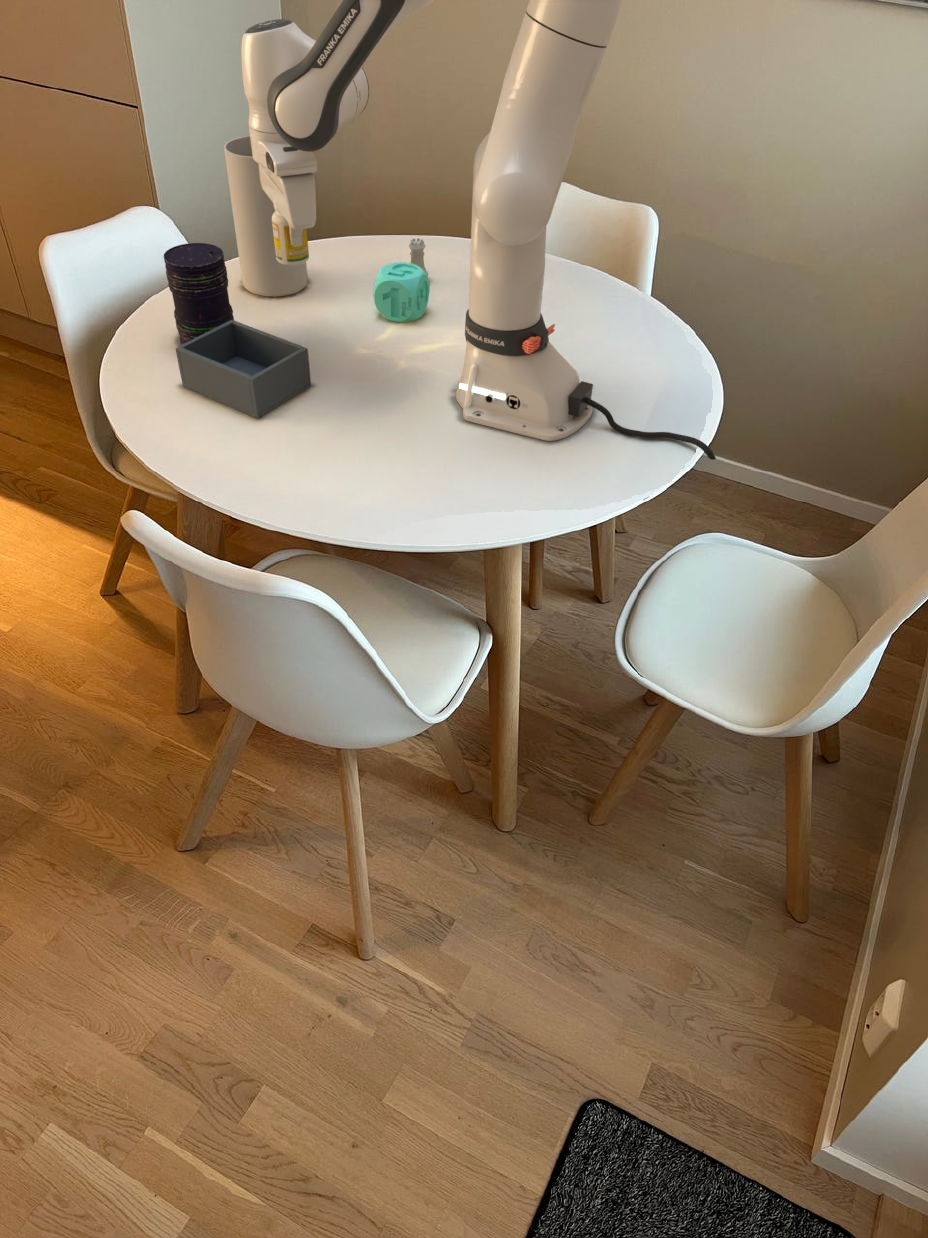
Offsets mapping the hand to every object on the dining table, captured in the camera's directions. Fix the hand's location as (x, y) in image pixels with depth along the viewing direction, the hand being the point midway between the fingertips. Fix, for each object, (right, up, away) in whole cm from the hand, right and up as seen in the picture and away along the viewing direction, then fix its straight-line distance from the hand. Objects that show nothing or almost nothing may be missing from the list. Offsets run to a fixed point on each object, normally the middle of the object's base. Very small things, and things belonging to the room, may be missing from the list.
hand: (290, 237), depth 150 cm
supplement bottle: (0, -3, +3) cm, 4 cm away
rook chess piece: (+19, +5, +33) cm, 39 cm away
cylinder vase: (-9, +3, +30) cm, 32 cm away
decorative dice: (+17, -5, +23) cm, 29 cm away
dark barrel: (-17, -13, +13) cm, 25 cm away
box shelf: (-7, -24, +2) cm, 25 cm away
